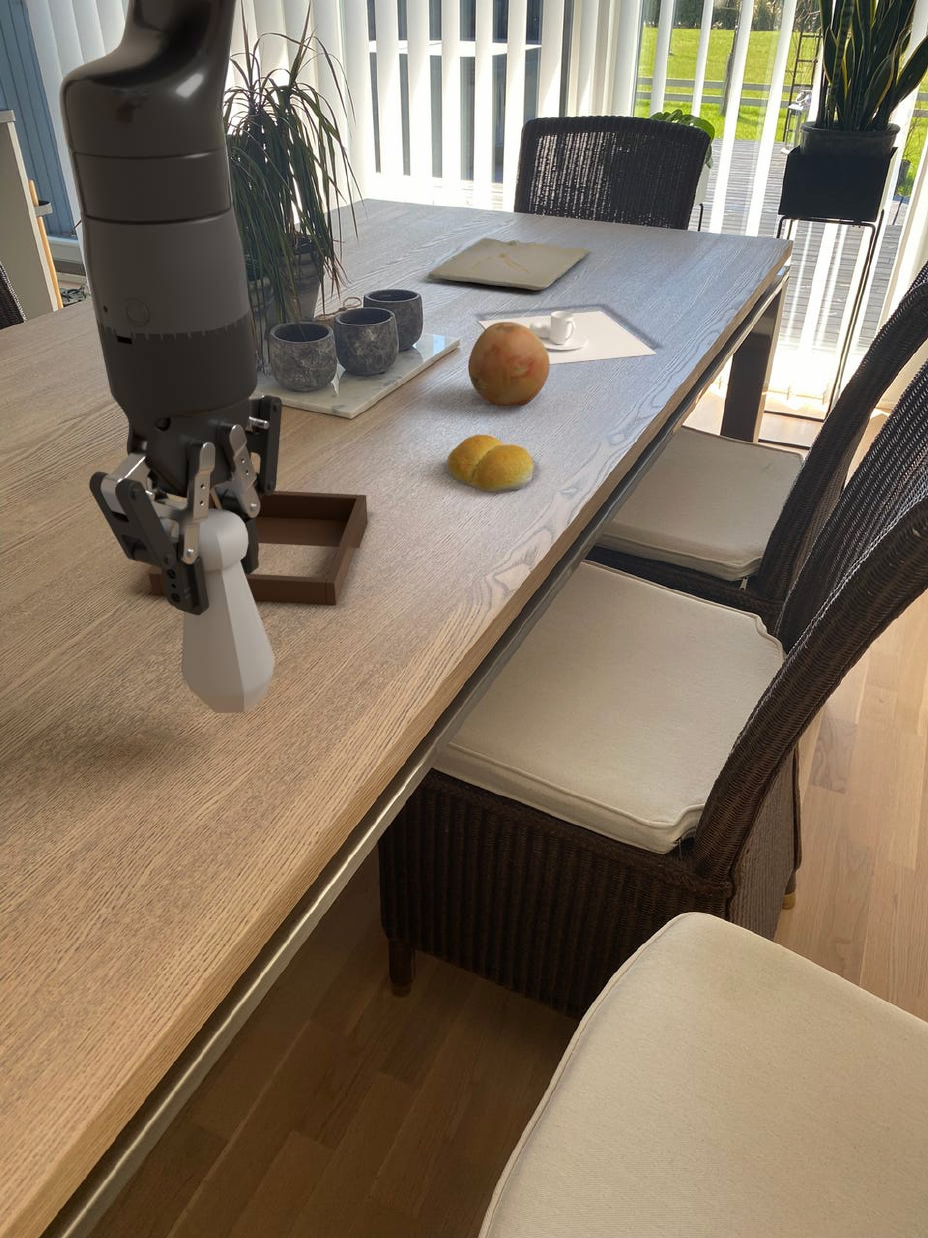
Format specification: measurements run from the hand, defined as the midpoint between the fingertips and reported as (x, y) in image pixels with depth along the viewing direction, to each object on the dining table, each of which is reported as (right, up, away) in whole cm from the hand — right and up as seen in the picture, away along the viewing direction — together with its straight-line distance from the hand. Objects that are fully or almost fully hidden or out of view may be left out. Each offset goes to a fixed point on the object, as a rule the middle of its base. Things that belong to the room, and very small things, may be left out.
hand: (216, 587), depth 57 cm
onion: (+20, +24, +59) cm, 67 cm away
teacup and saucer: (+29, +39, +80) cm, 94 cm away
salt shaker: (0, -7, +5) cm, 8 cm away
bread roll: (+18, +13, +43) cm, 48 cm away
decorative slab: (+23, +59, +109) cm, 127 cm away
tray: (-3, +3, +29) cm, 29 cm away
